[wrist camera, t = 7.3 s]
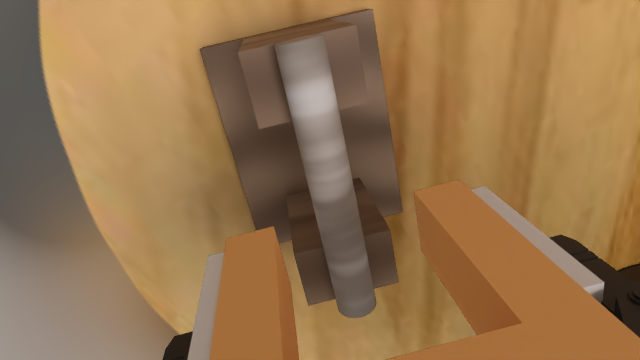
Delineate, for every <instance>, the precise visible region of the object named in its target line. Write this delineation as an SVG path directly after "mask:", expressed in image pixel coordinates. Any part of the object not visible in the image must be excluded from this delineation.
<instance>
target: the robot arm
mask: <svg viewBox="0 0 640 360" xmlns="http://www.w3.org/2000/svg"><path fill="white" fill-rule="evenodd" d="M471 190H472V191H473V192H474V193H475V194H476V195H477V196H478V197H480V198H481V199H482V200H483V201H484V202H485V203H486V204H488V205H489V206H490V207H491V208H492V209H493V210H494V211H496V212H497V213H498V214H499V215H500V216H501V217H502V218H504V219H505V220H506V221H507V222H508V223H509V224H510V225H512V226H513V227H514V228H515V229H516V230H517V231H518V232H520V233H521V234H522V235H523V236H524V237H525V238H526V239H527V240H529V241H530V242H531V243H532V244H533V245H534V246H535V247H537V248H538V249H539V250H540V251H541V252H542V253H543V254H545V255H546V256H547V257H548V258H549V259H550V260H551V261H553V262H554V263H555V264H556V265H557V266H558V267H559V268H561V269H562V270H563V271H564V272H565V273H566V274H567V275H569V276H570V277H571V278H572V279H573V280H574V281H575V282H577V283H578V284H579V285H580V286H581V287H582V288H583V289H584V290H586V291H587V292H588V293H589V294H590V295H591V296H592V297H594V298H595V299H596V300H597V301H598V302H599V303H600V304H602V305H603V306H604V307H605V308H606V309H607V310H608V311H610V312H611V313H612V314H613V315H614V316H615V317H616V318H618V319H619V320H620V321H621V322H622V323H623V324H624V325H626V326H627V327H628V328H629V329H630V330H631V331H632V332H634V333H635V334H636V335H637V336H638V337H639V338H640V265H637V266H633V267H630V268H627V269H624V270H622V271H620V272H618V271H617V270H615V269H614V268H612V267H611V266H610V265H608V264H607V263H606V262H604V261H603V260H602V259H600V258H598V256H596V255H595V254H594V253H592V252H591V251H588V249H587V248H586V247H584V246H583V245H582V244H580V243H579V242H578V241H576V240H573V239H571V238H568V237H566V236H563V235H558V236H554V237H550V238H549V237H547V236H546V235H545V234H544V233H542V232H541V231H540V230H539V229H538V228H536V227H535V226H534V225H533V224H531V223H530V222H529V221H528V220H526V219H525V218H524V217H523V216H521V215H520V214H519V213H518V212H516V211H515V210H514V209H513V208H511V207H510V206H509V205H508V204H507V203H505V202H504V201H503V200H502V199H500V198H499V197H498V196H497V195H495V194H494V193H493V192H492V191H490V190H489V189H488V188H487V187H485V186H483V187H479V188H475V189H471ZM223 258H224V252H222V253H218V254H214V255H210V256H208V259H207V264H206V269H205V274H204V279H203V284H202V289H201V294H200V299H199V304H198V309H197V314H196V319H195V324H194V329H193V332H189V333H185V334H181V335H177V336H174V338H173V339H172V341H171V342H170V343H169V345H168V346H167V348H166V349H165V353H164V357H163V360H209V358H210V351H211V344H212V337H213V330H214V322H215V315H216V308H217V301H218V294H219V287H220V279H221V272H222V265H223Z"/></svg>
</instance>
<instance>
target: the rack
mask: <svg viewBox="0 0 640 360" xmlns="http://www.w3.org/2000/svg"><path fill="white" fill-rule="evenodd" d="M200 51H201V55H202V58H203V61H204V64H205V67H206V70H207V74H208V77H209V80H210V83H211V86H212V90H213V93H214V96H215V99H216V102H217V106H218V109H219V112H220V115H221V118H222V122H223V125H224V128H225V131H226V134H227V137H228V141H229V144H230V147H231V150H232V153H233V157H234V160H235V163H236V166H237V169H238V173H239V176H240V179H241V182H242V185H243V189H244V192H245V195H246V198H247V201H248V205H249V208H250V211H251V214H252V217H253V220H254V224H255V227H256V230H261V229H265V228H269V227H273V226H274V229H275V233H276V236H277V239H278V243H282V242H286V241H290V240H292V243H293V250H294V256H295V259H296V263H297V267H298V270H299V274H300V277H301V281H302V285H303V288H304V292H305V295H306V299H307V302H308V306H309V305H313V304H317V303H321V302H324V301H328V300H332V299H336V302H337V306H338V309H339V312H340V313H341V314H342V315H344V316H346V317H350V318H359V317H363V316H365V315H367V314H369V313H371V312H372V311H373V310H374V308H375V306H376V298H375V293H374V289H375V288H378V287H382V286H386V285H390V284H394V283H398V282H399V281H398V275H397V269H396V263H395V257H394V251H393V245H392V239H391V233H390V229H389V227H388V226H387V224H386V222H385V220H384V219H383V217H385V216H389V215H393V214H397V213H401V212H403V211H402V204H401V198H400V191H399V184H398V177H397V170H396V164H395V157H394V150H393V143H392V137H391V130H390V123H389V116H388V110H387V103H386V96H385V89H384V83H383V76H382V69H381V62H380V56H379V49H378V42H377V35H376V29H375V22H374V15H373V9H365V10H361V11H357V12H353V13H348V14H344V15H340V16H335V17H331V18H327V19H322V20H318V21H314V22H310V23H305V24H301V25H297V26H292V27H288V28H284V29H280V30H275V31H271V32H267V33H262V34H258V35H254V36H249V37H245V38H241V39H237V40H232V41H228V42H224V43H219V44H215V45H211V46H207V47H203V48H201V49H200Z"/></svg>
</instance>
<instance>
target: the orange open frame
mask: <svg viewBox="0 0 640 360" xmlns="http://www.w3.org/2000/svg"><path fill="white" fill-rule="evenodd" d="M414 199H415V206H416V214H417V221H418V229H419V236H420V244H421V251H422V252H423V254H424V255H425V257H426V258H427V260H428V261H429V263H430V264H431V266H432V267H433V269H434V270H435V272H436V273H437V275H438V276H439V278H440V280H441V281H442V283H443V284H444V286H445V287H446V289H447V290H448V292H449V293H450V295H451V296H452V298H453V299H454V301H455V302H456V304H457V305H458V307H459V308H460V310H461V311H462V313H463V314H464V316H465V317H466V319H467V321H468V322H469V324H470V325H471V327H472V328H473V330H474V331H475V333H476V334H477V335H476V336H472V337H468V338H465V339H461V340H457V341H453V342H450V343H446V344H442V345H439V346H435V347H431V348H427V349H424V350H420V351H416V352H412V353H409V354H405V355H401V356H397V357H394V358H390V359H386V360H640V338H639V337H638V336H637V335H636V334H635V333H634V332H632V331H631V330H630V329H629V328H628V327H627V326H626V325H624V324H623V323H622V322H621V321H620V320H619V319H618V318H616V317H615V316H614V315H613V314H612V313H611V312H610V311H608V310H607V309H606V308H605V307H604V306H603V305H602V304H600V303H599V302H598V301H597V300H596V299H595V298H594V297H592V296H591V295H590V294H589V293H588V292H587V291H586V290H584V289H583V288H582V287H581V286H580V285H579V284H578V283H577V282H575V281H574V280H573V279H572V278H571V277H570V276H569V275H567V274H566V273H565V272H564V271H563V270H562V269H561V268H559V267H558V266H557V265H556V264H555V263H554V262H553V261H551V260H550V259H549V258H548V257H547V256H546V255H545V254H543V253H542V252H541V251H540V250H539V249H538V248H537V247H535V246H534V245H533V244H532V243H531V242H530V241H529V240H527V239H526V238H525V237H524V236H523V235H522V234H521V233H520V232H518V231H517V230H516V229H515V228H514V227H513V226H512V225H510V224H509V223H508V222H507V221H506V220H505V219H504V218H502V217H501V216H500V215H499V214H498V213H497V212H496V211H494V210H493V209H492V208H491V207H490V206H489V205H488V204H486V203H485V202H484V201H483V200H482V199H481V198H480V197H478V196H477V195H476V194H475V193H474V192H473V191H472V190H470V189H469V188H468V187H467V186H466V185H465V184H464V183H463V182H461V181H460V180H456V181H452V182H448V183H444V184H440V185H436V186H432V187H428V188H424V189H420V190H416V191H414ZM209 360H299V354H298V345H297V336H296V327H295V318H294V309H293V301H292V292H291V284H290V280H289V277H288V273H287V270H286V267H285V263H284V260H283V256H282V253H281V250H280V246H279V243H278V239H277V236H276V233H275V229H274V226H273V227H269V228H265V229H261V230H257V231H253V232H249V233H245V234H241V235H237V236H233V237H230V238H226V244H225V251H224V258H223V265H222V272H221V279H220V287H219V294H218V301H217V308H216V315H215V322H214V330H213V337H212V344H211V351H210V358H209Z"/></svg>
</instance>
